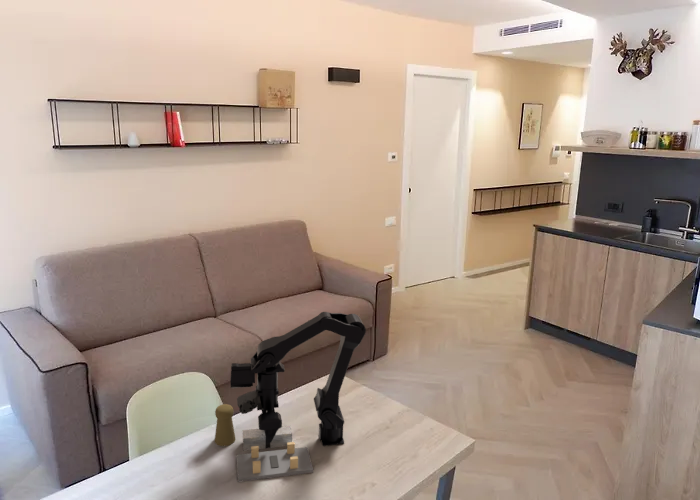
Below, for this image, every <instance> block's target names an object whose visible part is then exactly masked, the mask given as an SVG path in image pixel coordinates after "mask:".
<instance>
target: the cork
mask: <svg viewBox="0 0 700 500" xmlns="http://www.w3.org/2000/svg"><path fill="white" fill-rule="evenodd" d="M214 412H215V413H214V415H215V418H216V426H215V434H214V444H215V445H217V446H219V447H228V446H231V445H233V444H234V443H235V441H236V434H235V429H234V424H233V422H234V421H233V415H234V408H233V406H232V405H231V404H227V403H222V404H220V405H218V406H217V407H216V409H215V411H214Z"/></svg>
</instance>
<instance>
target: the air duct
mask: <svg viewBox="0 0 700 500" xmlns="http://www.w3.org/2000/svg"><path fill="white" fill-rule="evenodd" d="M289 442H293V431H292V426H291V425H284V426H283V425H282V427H281V428H279V429H278V431H277V432H276V434H275V436H274V438H273V440H272V442H271V443H267V440H266V435H265V431H264V430H259V428H253V429H252V428H251V429H244V430H242V451H251V447H252V446H259V450H261V449H271V448H278V447H279V448H280V447H287V443H289Z"/></svg>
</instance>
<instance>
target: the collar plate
mask: <svg viewBox="0 0 700 500" xmlns="http://www.w3.org/2000/svg"><path fill="white" fill-rule="evenodd" d="M295 445H296V443H295V442H294V441H292V442H289V443H287V446H286V448H285V449H276V450H268V451H259V450H260V449H259V446H252V447H251V450H250V453H241V454H236V473H237V483H238V482H239V483H240V482H248V481H256V480H265V479H271V478H279V477H286V476H288V477H289V476H295V475H304V474H312V473H314V468H313V463H312V459H311V456H310V452H309V447H308V446H303V447H296V446H295Z"/></svg>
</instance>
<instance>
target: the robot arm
mask: <svg viewBox="0 0 700 500" xmlns="http://www.w3.org/2000/svg"><path fill="white" fill-rule="evenodd" d="M325 331H328V332H331V333H334V334H336V335H338V336H340V338H339V340H340V341H339V345H338V348H337V351H336V354H335V357H334V360H333V362H332V366H331V369H330V371H329V374H328V378H327V380H326V384H325V385H324V386H323V387H322V388H319V387H317V389H316V394H315V396H314V397H313V402H314V407H315V411H316V414H317V418H318V419H319V421H320V422H319V423H318V438H319V441H320V442H321V444H322V446H325V447H326V446H331V445H332V446H334V445H343V444H345V440H344V425H345V419H344V416H343V414H342V413H343V412H342V410H341V406H340V405H339V401H340V399H339V398H340V396H339V395H340V391H341V388H342V385H343V382H344V380H345V377H346V374H347V372H348V371H347V370H348V368H349V365H350V362H351V359H352V357H353V353H354V351H355V350H356V349H357V348H358V347H359V345H360V344H361V343H362V341H363V339H364V337H365V335H366V332H367V330H366V326H365V325H364V322H363V321H362V319H361V317H360V316H359V315H358V314H356V313H348V314H346V313H343V312H342V313H341V312H328V311H322V312H320V313H319V314H318V315H316V316H315V317H313V318H311V319H309V320H307V321H306V322H304V323H302V324H300V325H299V326H297V327H296V328H294V329H292V330H289V331H288V332H287V333H285V334H283V335H279V336H273V337H269V338H266V339H264V340H262V341H261V342H259V344H258V345H257V348H256V350H257V351H256V352H255V353H254V354H253V355H252V357H251V358H250V362H249V363H248V362H247V363H246V362H245V363H238V362H236V363H235V362H233V363H232V362H231V365H230V379H229V380H230V381H229V382H230V389H239V388H240V389H242V388H251V387H253V386H254V384H256V383H257V384H256V385H255V389H254V390H252V391H248V392H247V393H243V394H241V395H239V396H237V398H236V402H237V407H238V410H239V412H240V413H241V414H243V415H245V414H248V413H250V412H253V411H254V410H255V409H256V410H257V411H261V413H260V414H259V415H258V417H257V420H258V421H257V423H258V429H259V430H264V431H265V435H266V440H267V443H271V442H272V440H273V438H274V436H275V434H276V432H277V431H278V429H279V428H281V427H282V426H283V421H282V415H281V413H280V412H278V411H276V410H275V409H276V408H279V406H280V405H279V400H278V396H279V386H278V384H279V383H278V382H279V376H278V375H279V373H284V372H285V371H286V370H285V365H284V364H283V363H282V362H281V361H282V360H283V359H284V358H285V357H286V356H287V354H288V353H289V352H291V350H292V351H293V349H295V348H297V347H299V346H300V345H302V344H304V343H306V342H307V341H309V340H311V339H313V338H314V337H316V336H318V335H320V334H321V333H323V332H325ZM256 374H257V375H256ZM256 376H257V379H256ZM256 380H257V381H256Z"/></svg>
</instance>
